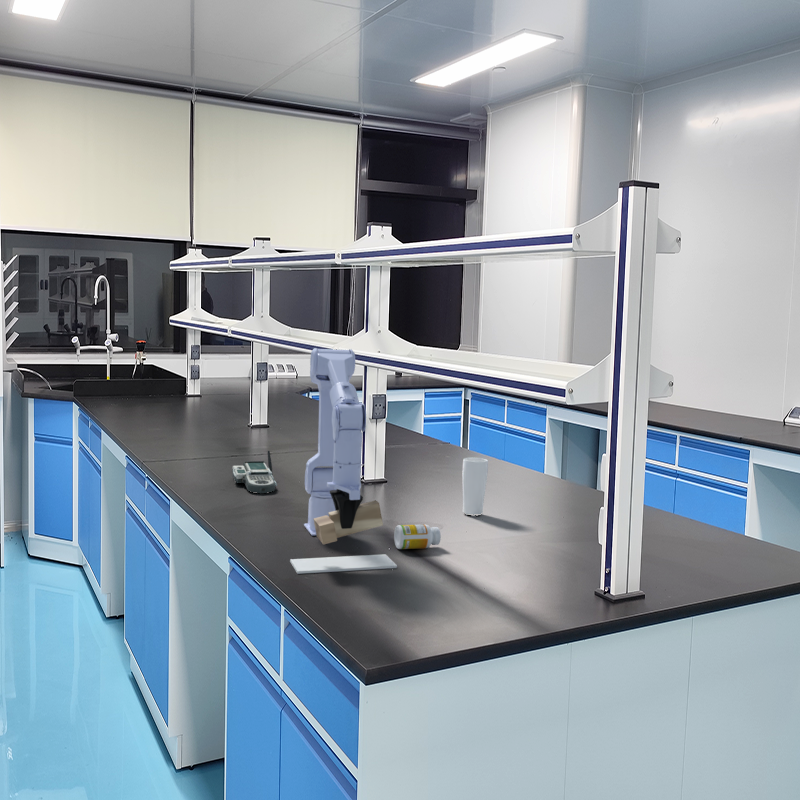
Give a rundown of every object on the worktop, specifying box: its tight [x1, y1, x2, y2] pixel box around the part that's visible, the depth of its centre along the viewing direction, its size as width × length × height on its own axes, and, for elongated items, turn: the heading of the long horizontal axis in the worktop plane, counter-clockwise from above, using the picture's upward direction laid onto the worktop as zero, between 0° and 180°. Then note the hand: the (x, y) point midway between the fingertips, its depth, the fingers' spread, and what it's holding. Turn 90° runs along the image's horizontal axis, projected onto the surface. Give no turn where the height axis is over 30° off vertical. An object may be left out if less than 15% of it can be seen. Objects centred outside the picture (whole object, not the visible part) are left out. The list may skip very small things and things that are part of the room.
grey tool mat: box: [289, 554, 398, 575], centre depth 169 cm, size 8×21×1 cm, turn 108°
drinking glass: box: [461, 456, 489, 515], centre depth 217 cm, size 7×7×15 cm
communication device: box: [231, 450, 278, 493], centre depth 241 cm, size 12×24×9 cm, turn 18°
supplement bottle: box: [393, 524, 442, 550], centre depth 184 cm, size 5×5×10 cm
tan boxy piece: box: [314, 500, 384, 545], centre depth 169 cm, size 6×14×5 cm, turn 108°
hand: (344, 526), depth 169 cm, fingers closed on tan boxy piece, 2 cm apart
